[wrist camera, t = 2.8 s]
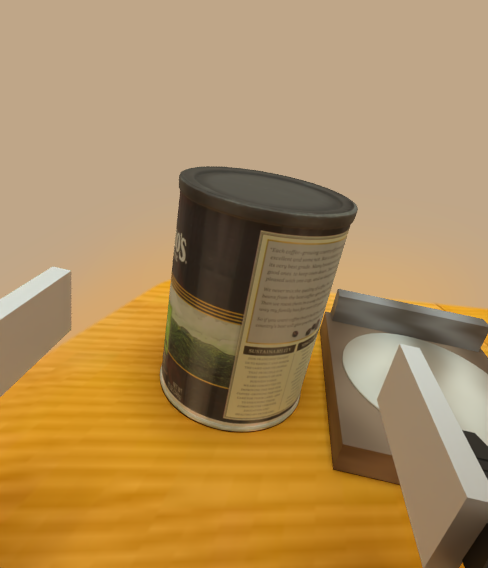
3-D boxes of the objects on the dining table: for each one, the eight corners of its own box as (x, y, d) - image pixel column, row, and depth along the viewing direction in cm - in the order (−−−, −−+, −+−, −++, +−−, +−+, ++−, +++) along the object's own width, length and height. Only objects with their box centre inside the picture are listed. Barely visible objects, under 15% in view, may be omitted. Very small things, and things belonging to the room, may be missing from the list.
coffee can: (138, 415, 24) (156, 185, 18) (179, 329, 33) (199, 158, 28) (304, 449, 24) (376, 227, 18) (298, 353, 33) (344, 186, 27)
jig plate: (468, 361, 37) (488, 320, 35) (578, 525, 22) (624, 470, 20) (320, 329, 37) (332, 287, 36) (333, 469, 23) (355, 410, 21)
